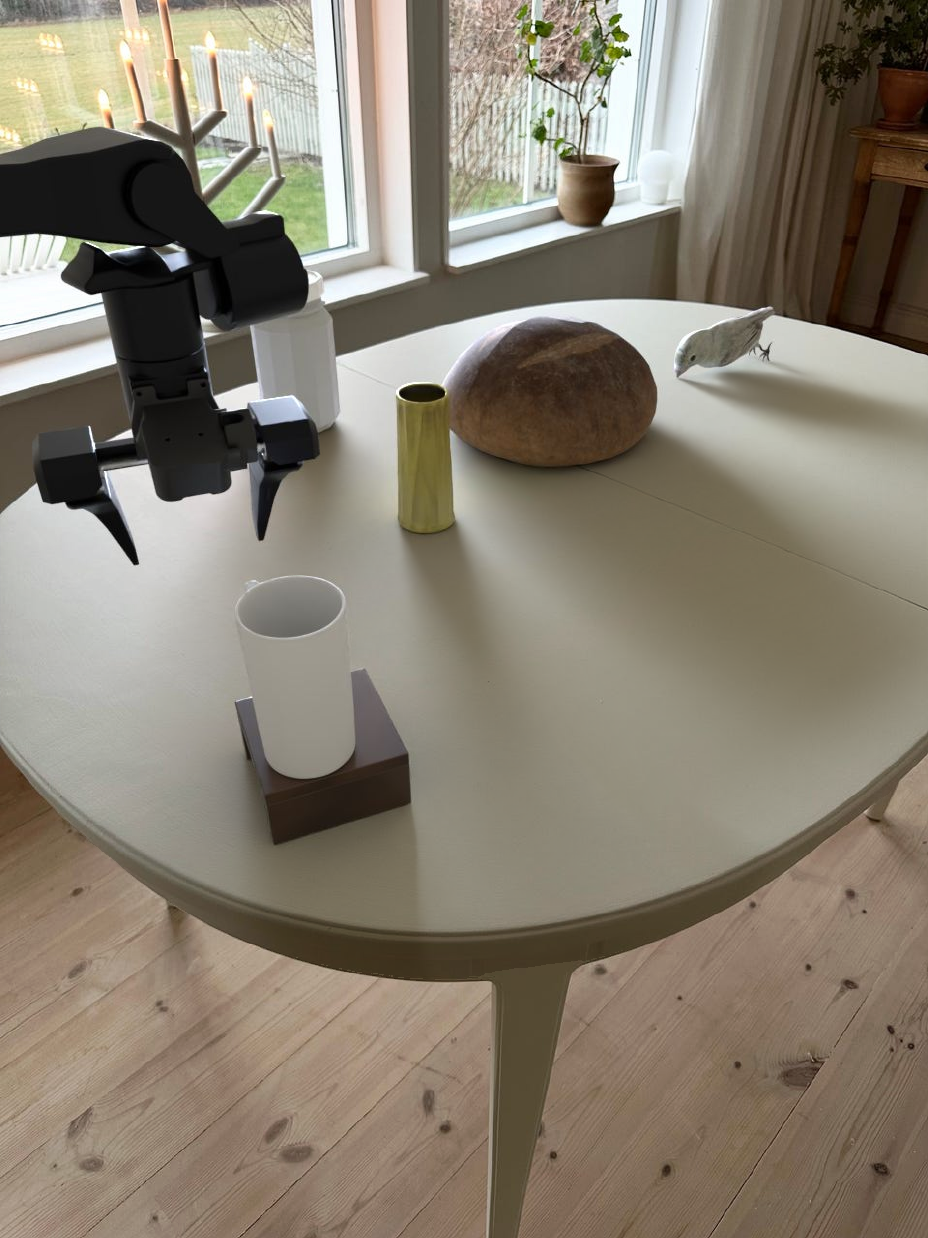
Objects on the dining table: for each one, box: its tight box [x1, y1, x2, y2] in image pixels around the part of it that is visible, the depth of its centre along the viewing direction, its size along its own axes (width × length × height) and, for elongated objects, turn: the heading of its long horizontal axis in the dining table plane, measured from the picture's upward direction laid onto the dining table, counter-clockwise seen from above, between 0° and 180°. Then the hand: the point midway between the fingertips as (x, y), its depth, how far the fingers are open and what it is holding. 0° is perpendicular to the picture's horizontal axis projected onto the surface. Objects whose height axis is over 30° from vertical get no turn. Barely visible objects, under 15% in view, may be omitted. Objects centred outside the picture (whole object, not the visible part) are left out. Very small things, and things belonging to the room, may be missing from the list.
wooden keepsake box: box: [234, 667, 412, 846], centre depth 67 cm, size 10×10×5 cm
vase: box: [395, 381, 456, 534], centre depth 94 cm, size 6×6×14 cm
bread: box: [441, 316, 658, 468], centre depth 113 cm, size 26×27×13 cm
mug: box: [234, 575, 355, 779], centre depth 61 cm, size 10×7×12 cm, turn 38°
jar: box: [249, 268, 341, 434], centre depth 112 cm, size 10×10×18 cm
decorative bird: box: [673, 306, 776, 378], centre depth 130 cm, size 5×16×7 cm, turn 118°
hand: (199, 550), depth 69 cm, fingers open, 9 cm apart
